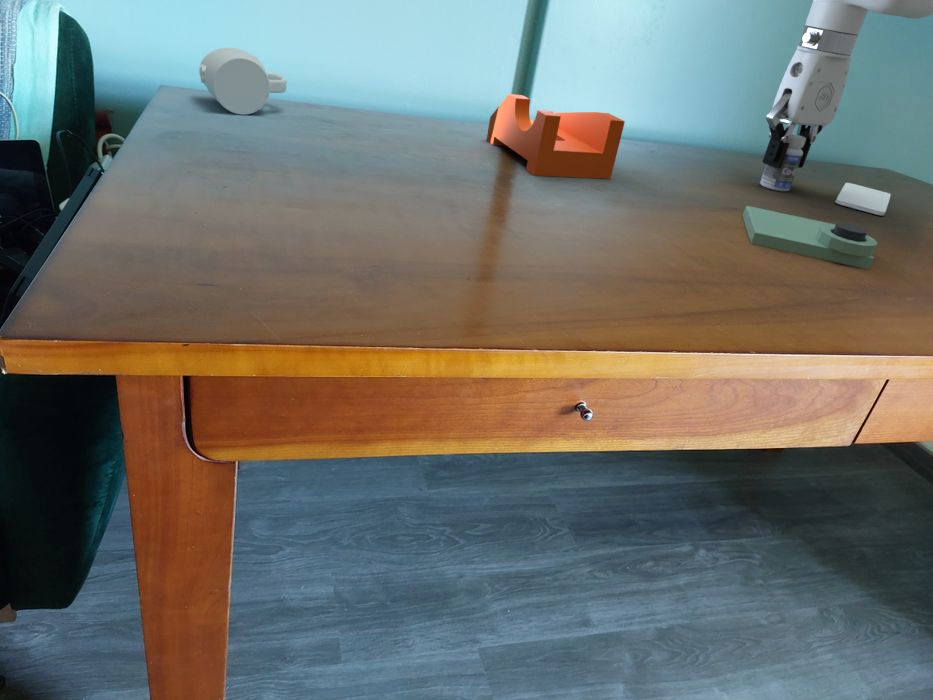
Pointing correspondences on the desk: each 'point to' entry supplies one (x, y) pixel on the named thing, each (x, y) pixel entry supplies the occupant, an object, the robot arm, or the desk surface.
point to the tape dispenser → (557, 139)
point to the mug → (239, 80)
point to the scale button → (850, 231)
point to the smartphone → (863, 199)
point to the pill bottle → (785, 166)
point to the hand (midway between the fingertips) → (782, 164)
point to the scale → (806, 238)
